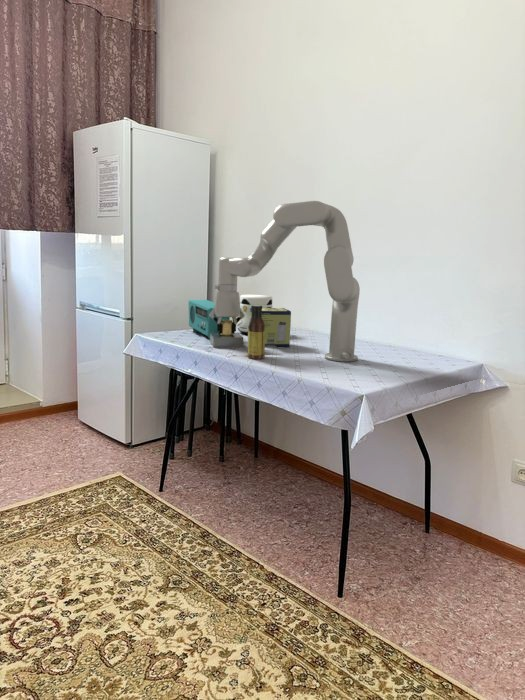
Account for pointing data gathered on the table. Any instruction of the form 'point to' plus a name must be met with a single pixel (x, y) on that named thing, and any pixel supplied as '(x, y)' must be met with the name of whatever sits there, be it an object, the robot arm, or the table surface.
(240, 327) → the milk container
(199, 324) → the radio
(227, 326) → the gold drink can
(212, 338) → the housing
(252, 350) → the sauce bottle
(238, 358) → the table surface
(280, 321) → the protein box
